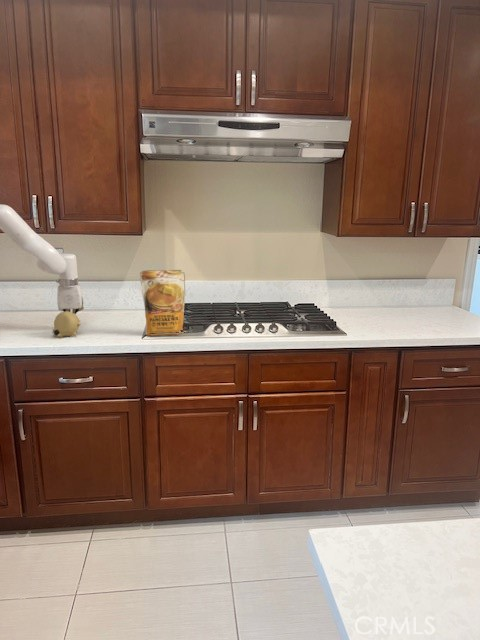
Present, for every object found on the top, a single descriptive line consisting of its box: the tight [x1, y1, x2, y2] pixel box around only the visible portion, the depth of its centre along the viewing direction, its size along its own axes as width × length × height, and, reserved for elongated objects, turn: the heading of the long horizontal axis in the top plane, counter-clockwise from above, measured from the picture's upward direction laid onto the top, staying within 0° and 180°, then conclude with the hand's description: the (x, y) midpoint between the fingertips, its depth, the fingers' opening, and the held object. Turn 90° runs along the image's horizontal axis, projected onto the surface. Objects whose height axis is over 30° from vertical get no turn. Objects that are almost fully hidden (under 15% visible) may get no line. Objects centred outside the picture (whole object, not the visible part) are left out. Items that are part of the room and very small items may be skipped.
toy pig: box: [52, 311, 81, 338], centre depth 198 cm, size 10×12×11 cm
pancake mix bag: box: [139, 269, 186, 337], centre depth 200 cm, size 7×19×28 cm, turn 102°
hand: (72, 323), depth 207 cm, fingers closed
